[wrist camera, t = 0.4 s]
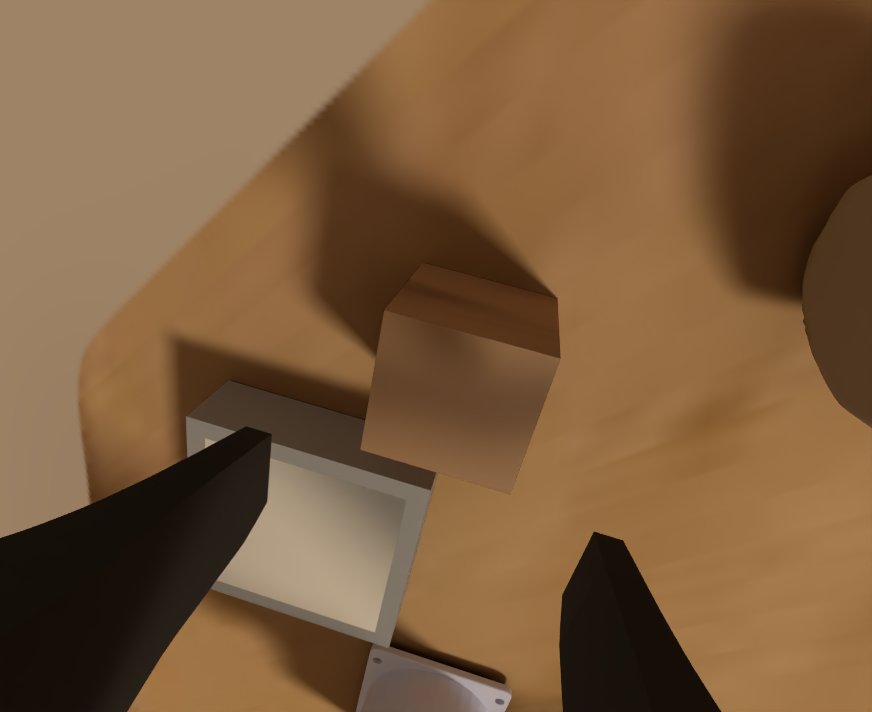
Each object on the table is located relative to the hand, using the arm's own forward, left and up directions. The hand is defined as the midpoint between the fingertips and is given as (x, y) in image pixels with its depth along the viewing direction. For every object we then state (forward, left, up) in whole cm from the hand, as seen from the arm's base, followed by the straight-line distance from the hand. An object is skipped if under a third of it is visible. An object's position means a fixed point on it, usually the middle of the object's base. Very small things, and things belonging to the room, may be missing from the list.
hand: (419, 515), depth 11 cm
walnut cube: (0, 0, -10) cm, 10 cm away
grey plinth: (-10, +5, -9) cm, 15 cm away
